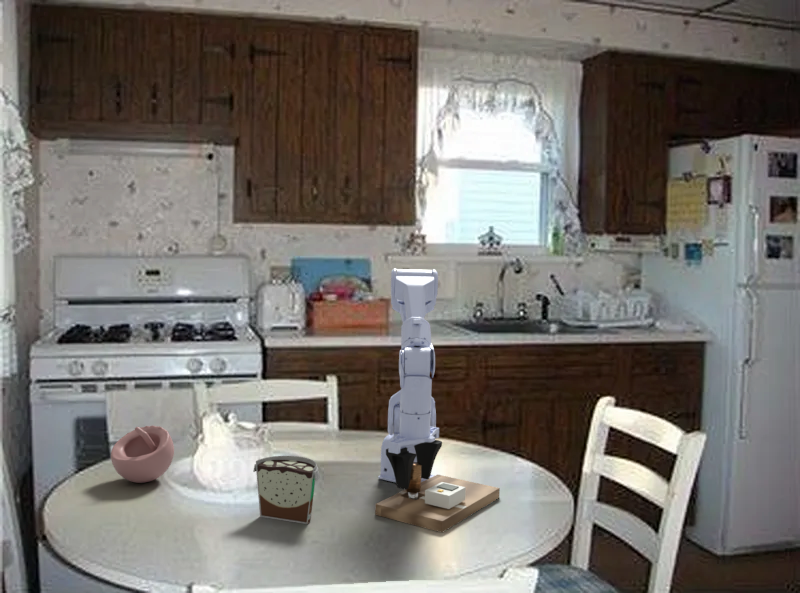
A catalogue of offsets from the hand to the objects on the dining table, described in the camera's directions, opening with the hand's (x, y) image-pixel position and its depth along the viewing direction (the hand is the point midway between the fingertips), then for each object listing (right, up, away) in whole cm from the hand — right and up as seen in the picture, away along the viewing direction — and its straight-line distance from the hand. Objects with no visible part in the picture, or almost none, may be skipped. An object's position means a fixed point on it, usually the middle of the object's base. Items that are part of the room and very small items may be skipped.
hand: (413, 483), depth 144 cm
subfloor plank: (+5, -5, +1) cm, 7 cm away
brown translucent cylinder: (0, -4, 0) cm, 4 cm away
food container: (-22, -5, -6) cm, 23 cm away
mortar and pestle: (-54, -3, +11) cm, 55 cm away
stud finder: (+6, -2, -4) cm, 7 cm away
